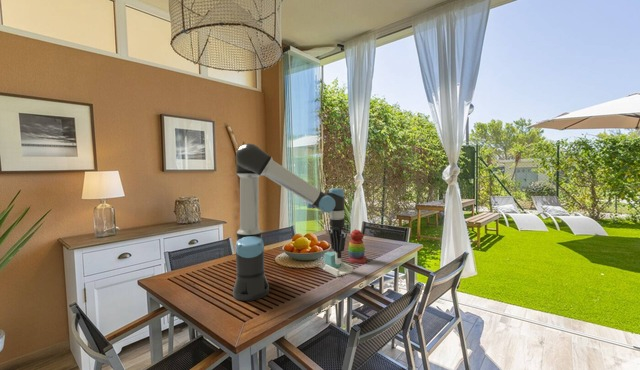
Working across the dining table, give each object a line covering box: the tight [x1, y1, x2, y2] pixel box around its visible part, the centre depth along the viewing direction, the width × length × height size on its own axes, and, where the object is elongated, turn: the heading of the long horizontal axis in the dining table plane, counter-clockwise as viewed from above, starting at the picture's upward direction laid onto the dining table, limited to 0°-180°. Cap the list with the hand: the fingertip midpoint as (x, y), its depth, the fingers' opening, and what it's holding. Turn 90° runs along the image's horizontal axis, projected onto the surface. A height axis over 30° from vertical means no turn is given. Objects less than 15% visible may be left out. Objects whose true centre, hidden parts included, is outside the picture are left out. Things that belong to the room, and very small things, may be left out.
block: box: [323, 250, 340, 268], centre depth 151 cm, size 6×6×7 cm
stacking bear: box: [347, 228, 367, 265], centre depth 163 cm, size 11×10×18 cm
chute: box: [317, 261, 354, 277], centre depth 151 cm, size 10×20×3 cm, turn 33°
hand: (337, 263), depth 147 cm, fingers closed
